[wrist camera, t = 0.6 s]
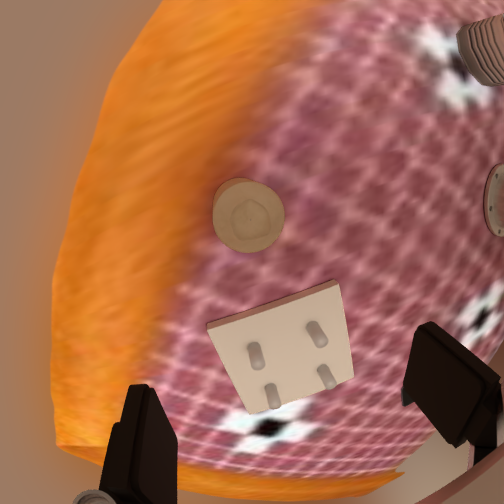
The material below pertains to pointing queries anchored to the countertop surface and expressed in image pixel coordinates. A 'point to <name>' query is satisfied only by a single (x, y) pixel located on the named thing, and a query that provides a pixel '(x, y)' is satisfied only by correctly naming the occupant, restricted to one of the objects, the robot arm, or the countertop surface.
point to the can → (484, 49)
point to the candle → (247, 215)
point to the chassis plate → (286, 347)
